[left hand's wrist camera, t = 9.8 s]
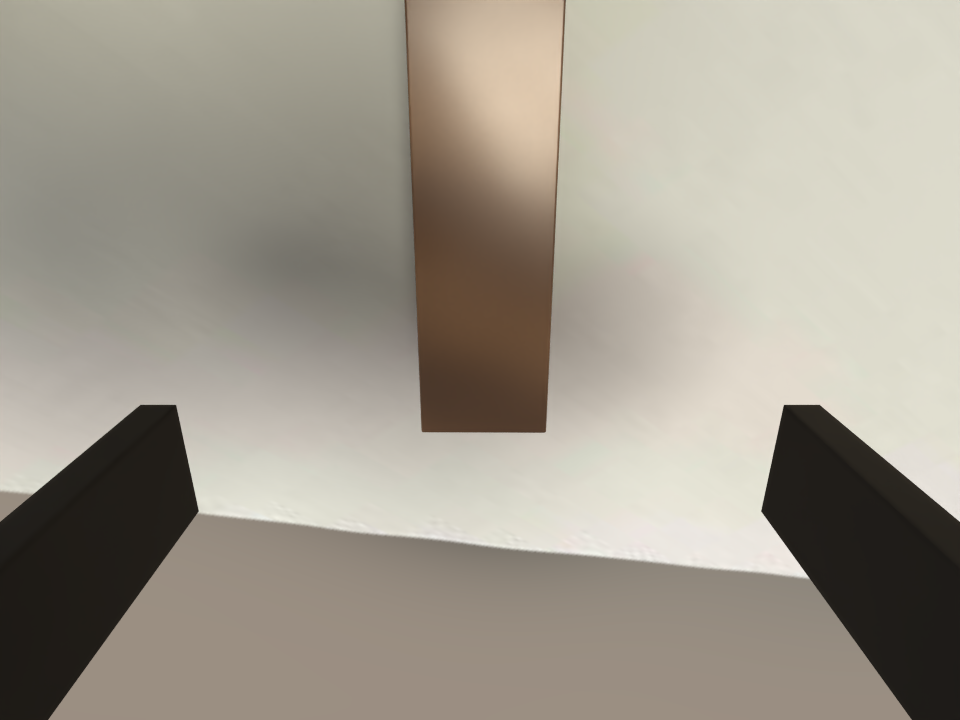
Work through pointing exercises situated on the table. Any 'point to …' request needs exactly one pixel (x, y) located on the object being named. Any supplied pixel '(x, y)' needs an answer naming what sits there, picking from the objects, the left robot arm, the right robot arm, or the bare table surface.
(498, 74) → the beam
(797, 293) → the table surface
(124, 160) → the table surface
